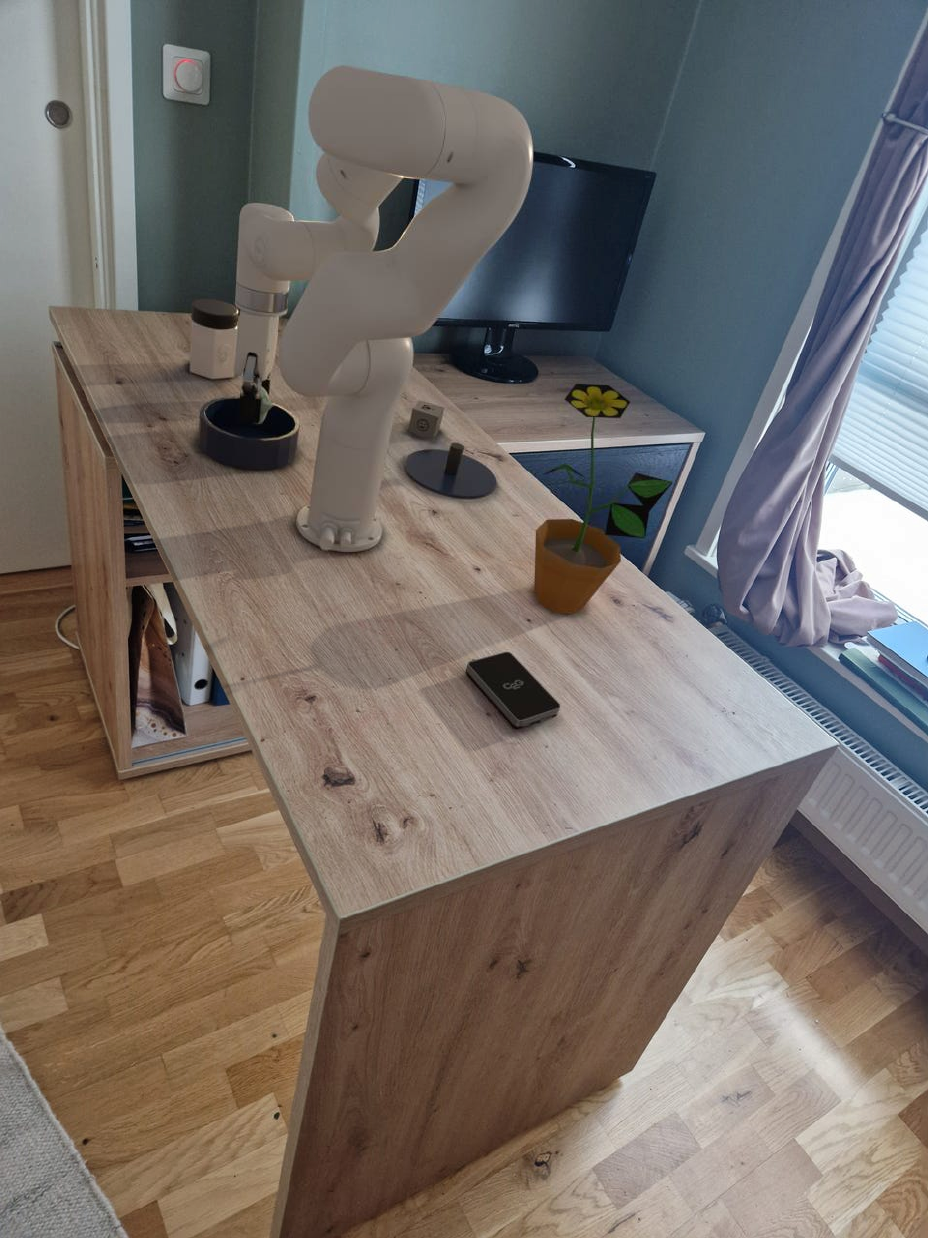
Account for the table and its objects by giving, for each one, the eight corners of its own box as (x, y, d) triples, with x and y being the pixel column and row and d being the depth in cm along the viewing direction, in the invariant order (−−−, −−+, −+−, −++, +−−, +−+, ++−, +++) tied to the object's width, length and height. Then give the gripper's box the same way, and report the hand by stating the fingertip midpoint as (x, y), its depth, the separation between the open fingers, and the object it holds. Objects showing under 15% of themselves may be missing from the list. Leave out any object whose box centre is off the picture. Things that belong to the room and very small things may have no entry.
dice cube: (414, 424, 158) (419, 399, 155) (438, 431, 158) (444, 407, 155) (407, 433, 154) (412, 408, 151) (432, 441, 154) (438, 416, 151)
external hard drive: (513, 734, 96) (518, 722, 95) (461, 674, 102) (465, 661, 101) (557, 719, 100) (562, 707, 98) (504, 661, 106) (508, 650, 105)
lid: (497, 509, 138) (506, 477, 135) (401, 490, 136) (408, 457, 132) (492, 465, 152) (501, 435, 148) (405, 447, 149) (411, 416, 145)
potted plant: (477, 567, 123) (532, 375, 105) (581, 562, 131) (649, 383, 113) (529, 644, 110) (602, 441, 93) (641, 633, 119) (727, 445, 101)
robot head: (276, 433, 130) (277, 393, 126) (251, 436, 128) (252, 394, 124) (257, 412, 135) (257, 372, 131) (232, 414, 133) (233, 374, 129)
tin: (288, 478, 130) (291, 448, 127) (188, 458, 128) (189, 427, 125) (301, 437, 143) (305, 408, 140) (210, 418, 140) (212, 389, 137)
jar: (201, 381, 151) (204, 316, 144) (178, 363, 155) (180, 299, 148) (244, 377, 157) (249, 314, 150) (221, 359, 161) (225, 297, 154)
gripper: (247, 277, 127) (240, 387, 137) (223, 308, 113) (217, 428, 123) (295, 288, 128) (285, 395, 139) (278, 320, 114) (268, 437, 124)
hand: (253, 410), depth 131 cm, fingers closed on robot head, 7 cm apart
